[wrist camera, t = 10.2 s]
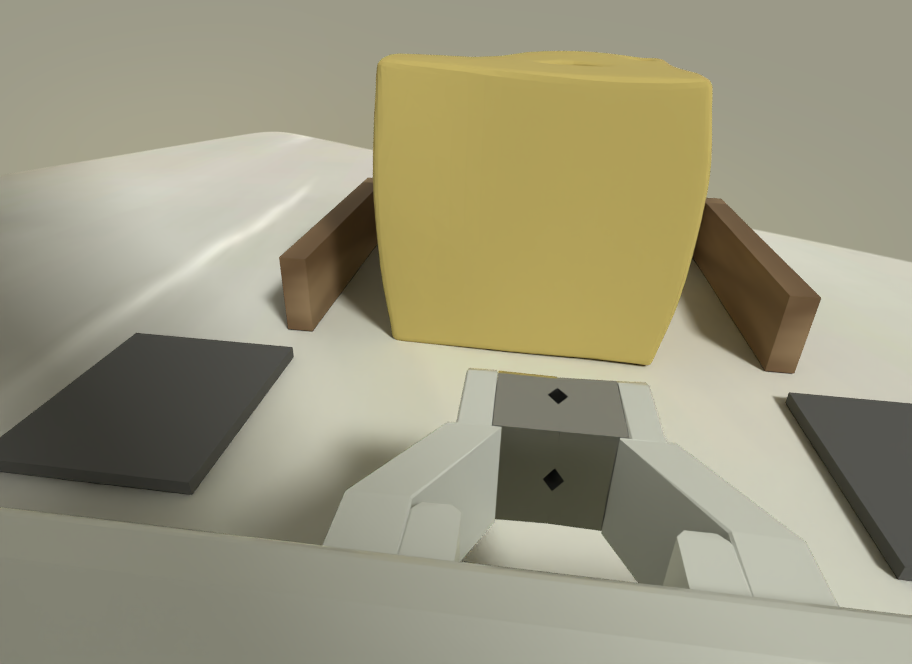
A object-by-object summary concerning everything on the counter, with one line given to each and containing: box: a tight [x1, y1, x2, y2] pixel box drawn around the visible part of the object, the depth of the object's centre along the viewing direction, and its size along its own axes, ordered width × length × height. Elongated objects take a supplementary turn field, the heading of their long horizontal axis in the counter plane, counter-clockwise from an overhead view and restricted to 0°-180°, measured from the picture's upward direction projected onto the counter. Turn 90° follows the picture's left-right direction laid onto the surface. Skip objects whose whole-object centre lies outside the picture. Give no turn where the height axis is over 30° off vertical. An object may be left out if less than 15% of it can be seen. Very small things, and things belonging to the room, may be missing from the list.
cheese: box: [373, 51, 712, 365], centre depth 23 cm, size 10×11×10 cm
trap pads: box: [0, 333, 912, 581], centre depth 17 cm, size 29×7×1 cm, turn 83°
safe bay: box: [279, 178, 821, 373], centre depth 27 cm, size 19×12×3 cm, turn 83°
